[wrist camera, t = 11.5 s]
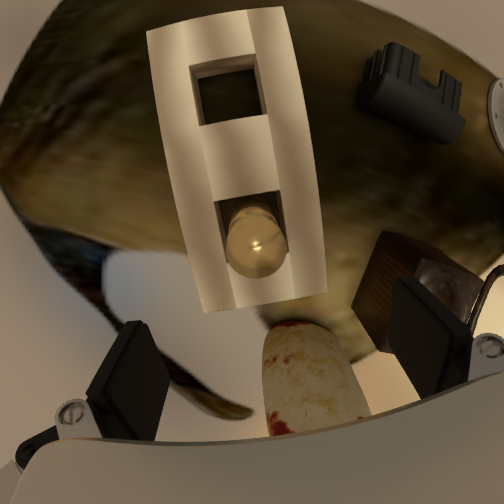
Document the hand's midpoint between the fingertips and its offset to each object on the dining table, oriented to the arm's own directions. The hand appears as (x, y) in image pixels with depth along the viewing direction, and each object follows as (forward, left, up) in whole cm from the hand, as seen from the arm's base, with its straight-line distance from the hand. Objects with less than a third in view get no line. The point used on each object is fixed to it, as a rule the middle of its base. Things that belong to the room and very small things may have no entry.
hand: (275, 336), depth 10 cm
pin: (0, 0, -21) cm, 21 cm away
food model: (-3, +16, -21) cm, 26 cm away
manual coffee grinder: (-18, +9, -21) cm, 29 cm away
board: (0, -6, -20) cm, 21 cm away
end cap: (-18, -10, -21) cm, 29 cm away
